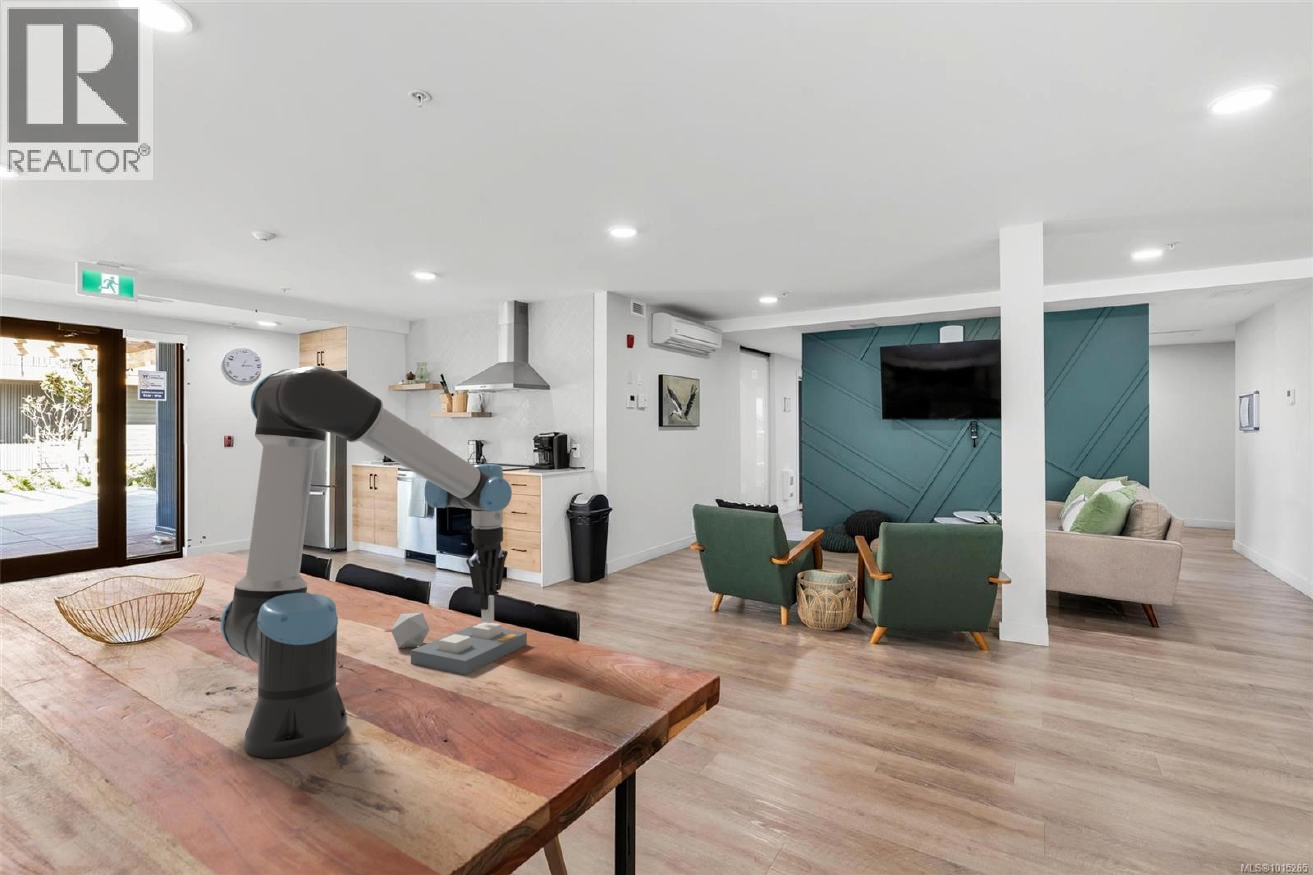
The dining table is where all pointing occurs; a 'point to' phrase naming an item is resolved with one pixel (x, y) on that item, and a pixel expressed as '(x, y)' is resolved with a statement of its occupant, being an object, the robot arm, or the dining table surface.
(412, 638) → the die
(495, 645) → the breaker panel
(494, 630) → the tagged button
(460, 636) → the button
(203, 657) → the dining table surface
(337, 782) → the dining table surface
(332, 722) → the robot arm
